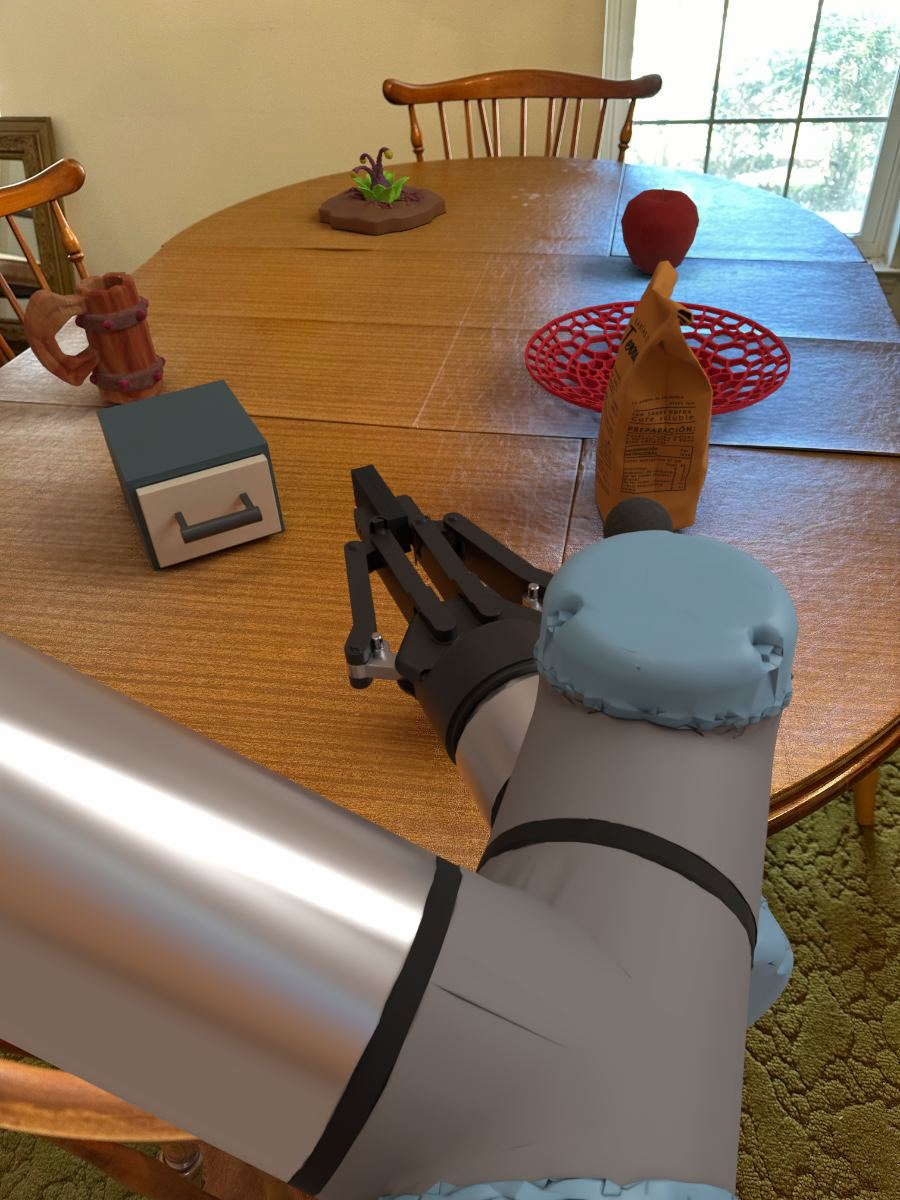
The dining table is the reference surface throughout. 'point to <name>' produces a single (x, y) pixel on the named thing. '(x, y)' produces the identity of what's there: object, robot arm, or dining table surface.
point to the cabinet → (178, 442)
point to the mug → (98, 337)
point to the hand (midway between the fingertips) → (363, 485)
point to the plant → (380, 202)
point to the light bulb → (636, 517)
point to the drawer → (209, 509)
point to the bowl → (726, 400)
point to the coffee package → (655, 411)
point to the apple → (659, 228)
